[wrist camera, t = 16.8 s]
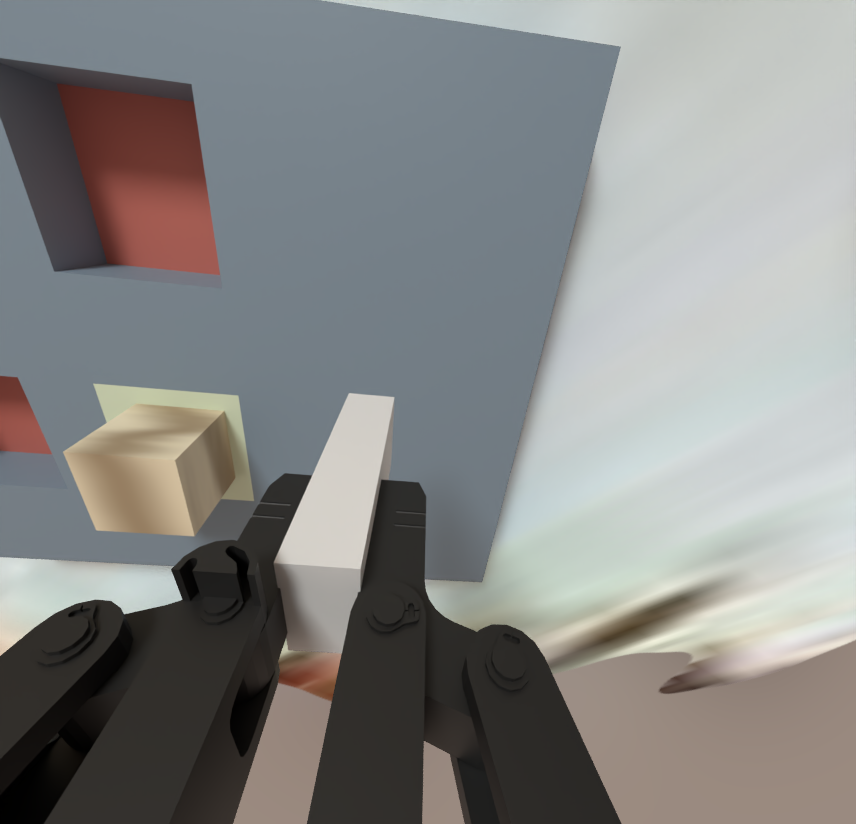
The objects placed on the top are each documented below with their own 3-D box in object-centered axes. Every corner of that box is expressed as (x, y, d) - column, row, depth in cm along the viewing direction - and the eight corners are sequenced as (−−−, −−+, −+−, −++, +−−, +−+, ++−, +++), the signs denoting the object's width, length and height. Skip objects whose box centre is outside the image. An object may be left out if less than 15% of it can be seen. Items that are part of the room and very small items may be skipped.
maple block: (224, 410, 22) (175, 460, 17) (235, 477, 24) (194, 536, 20) (136, 403, 22) (62, 451, 17) (156, 472, 24) (96, 530, 19)
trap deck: (581, 79, 18) (620, 46, 15) (475, 543, 33) (482, 582, 30) (-285, -48, 16) (-489, -124, 12) (23, 516, 31) (-29, 555, 27)
